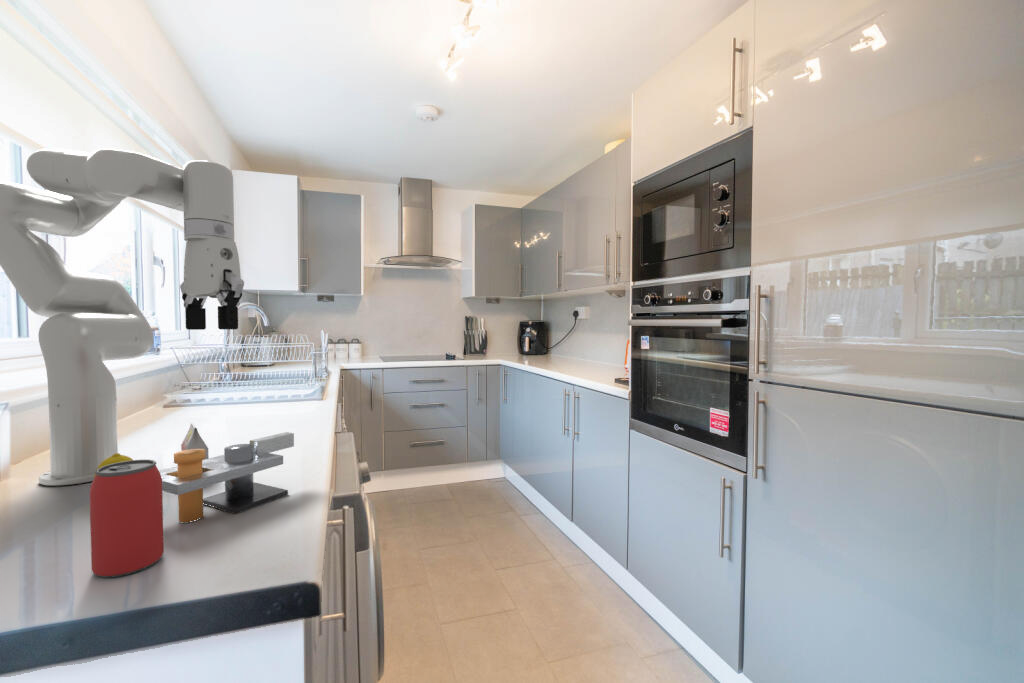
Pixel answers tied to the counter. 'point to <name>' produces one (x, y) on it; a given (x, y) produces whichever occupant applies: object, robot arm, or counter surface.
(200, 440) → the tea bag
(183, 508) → the orange flanged peg
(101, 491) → the beer can
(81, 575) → the counter surface
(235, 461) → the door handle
